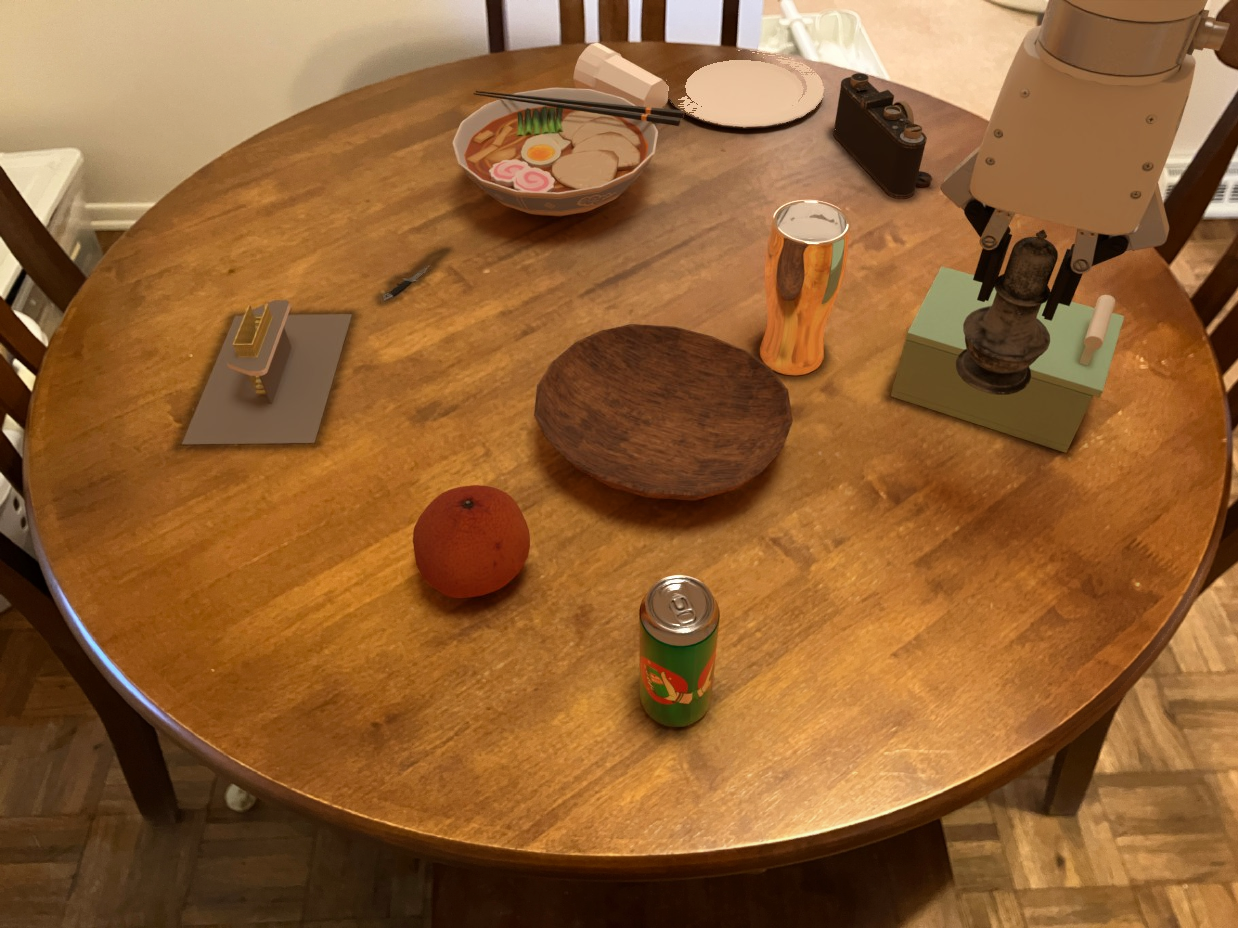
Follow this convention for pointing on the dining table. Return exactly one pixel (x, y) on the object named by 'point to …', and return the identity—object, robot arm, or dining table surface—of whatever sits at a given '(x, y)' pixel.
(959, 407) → the box
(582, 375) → the bowl
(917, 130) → the camera
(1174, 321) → the dining table surface
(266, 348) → the platform
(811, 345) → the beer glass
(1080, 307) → the lunchbox lid
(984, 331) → the chess piece
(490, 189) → the ramen bowl
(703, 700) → the soda can
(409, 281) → the knife
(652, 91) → the cup
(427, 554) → the fruit
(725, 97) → the plate
